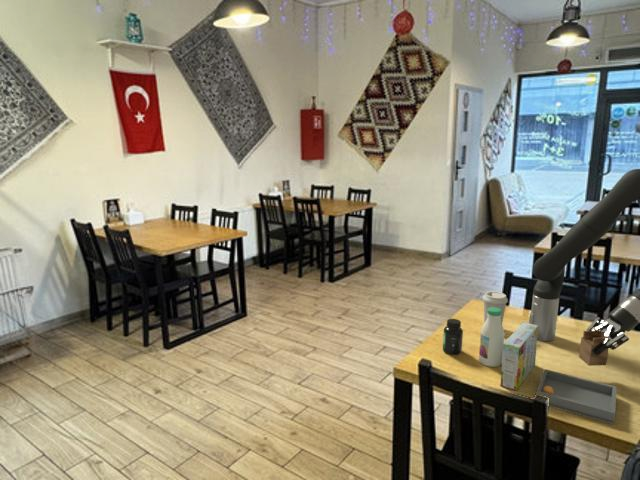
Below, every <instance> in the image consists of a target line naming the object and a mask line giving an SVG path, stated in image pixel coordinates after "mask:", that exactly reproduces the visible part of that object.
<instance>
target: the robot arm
mask: <svg viewBox="0 0 640 480" xmlns="http://www.w3.org/2000/svg"><path fill="white" fill-rule="evenodd" d="M636 201H637V204H638V207H640V168H635V169H632V170H629V171H627V172H626V173H624V174H623V175H622V176H621V178H619V180H618V181H617V182H616V183H615V184H614V186H612V188H611V190H609V192H608V193H607V194H606V195H605V196H604V197H603V198H602V199H601V200H600V201H598V202H597V203H596V204H595V205H594V206H593V207H592V208H591V209H590V210H589V211H587V212H586V213H585V214H584V215H583V216H582V217H580V219H578V221H577V222H575V224H574V225H573V226H572V227H571V228H570V229H569V230H568V231H567V232H566V233H565V234H564V236H562V238H561V239H560V240H559V242H557V243H556V244H555V246H553V247H552V248H551V249H550V250H548V251H547V252H546V253H545V254H543V255H542V256H540V257H539V258H538V259H537V260H535V262H534V264H533V267H532V273H533V275H534V277H535V278H536V279H537V280H536V283H535V285H534V287H533V289H532V290H533V291H532V302H531V310H530V311H531V312H530V314H529V321H528V323H529V324H534V325H538V335H537V341H540V342H551V341H554V340H555V337H556V330H557V329H556V328H557V322H558V321H557V320H558V313H559V303H560V296H561V295H560V294H561V292H562V289H563V285H564V279H565V273H566V272H565V271H566V266H567V265H568V264H569V262H571V261H572V260H573V259H575V258H576V257H578V256H579V255H580V254H582V253H584V252H585V251H586V250H588V249H589V248H591V247H592V246H594V245H595V244H596V243H597V242H598V241H599V240H601V238H603V237H604V236H606V234H607V233H608V232H609V231H610V230H611V229H612V227H613V225H614V224H615V222H616V221H617V219H618V217H619V216H620V215H621V213H622V212H624V211H625V209H627V208H628V207H629V206H630V205H632V204H633V203H634V202H636ZM638 324H640V287H639V288H638V289H637V290H635V291H634V292H633V293H632V294H631V295H630V296H629V297H627V298H626V299H624V300H622V302H620V303H619V304H618V305H617V306H616V307H615V308H614V309H612V311H610V312H609V313H608V318H605V319H604V320H603V319H601V317H599V316H598V317H596V318H595V319H594V320H593V321H592V323H591V324H590V325H589V326H588V327H587V328H586V331H596V332H597V333H599V331H600V332H602V333H603V334H605V335H604V338H605V339H604V340H603V341H602V344H601V343H600V344H599V345H597V346H596V347H595V348H594V349H593V350H592V352H593V353H594V354H595V355H599V354H601V353H602V352H603V351H604V350H605V349H608V350H609V349H610V350H612V351H615V350H616V349H617V348H619V347H620V346H622V345H624V344H625V343H627V342H628V341H629V340H630V338H629V337H628V335H626V334H625V333H627V332H628V333H629V332H631V331H632V330H633V329H634V328H635V327H636V326H638ZM608 340H609V342H607V341H608Z"/></svg>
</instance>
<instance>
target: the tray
mask: <svg viewBox="0 0 640 480" xmlns="http://www.w3.org/2000/svg"><path fill="white" fill-rule="evenodd" d="M546 386H550V387H552V388H553V390H554V394H553V395H552V394H549V393H545V392H543V388H544V387H546ZM617 390H618V389H617V386H614V385H611V384H607V383H602V382H598V381H595V380H591V379H587V378H583V377H578V376H574V375H569V374H566V373H563V372H558V371H553V370H550V369H546V368H544V369H543V372H542V376H541V378H540V381H539V384H538V387H537V389H536V394H535V396H536V395H537V394H538V395H542V396H546V397H548V398H549V406H548V407H551V408H554V407H556V408H555V409H557V408H559V409H558V410H561V409H562V410H561V411H564V410H566V411H565V412H568V411H570V412H569V413H571V412H573V413H572V414H575V413H577V414H576V415H578V414H579V416H582V415H583V417H585V416H586V418H589V419H593V420H596V421H599V420H600V422H604V423H605V424H606V423H607V424H610V425H614V423H615V418H616V417H615V416H616V404H617V401H616V400H617Z"/></svg>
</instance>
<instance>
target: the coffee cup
mask: <svg viewBox="0 0 640 480" xmlns="http://www.w3.org/2000/svg"><path fill="white" fill-rule="evenodd" d="M482 300H483V320H484V321H483V322H484V323H485V321H486V320H487V317H488V315H487V310H488V308H490V307H495V308H499V309H501V310H502V314H501V317H500V319H501V323H502V324H503V323H504V322H503V321H504V317H505V312H506V306H507V303H508V302H509V300H508V298H507V295H506V294H505V293H503V292H500V291H487V292H485V294H484V295H483V296H482ZM484 323H483V324H484Z"/></svg>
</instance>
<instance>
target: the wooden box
mask: <svg viewBox="0 0 640 480" xmlns="http://www.w3.org/2000/svg"><path fill="white" fill-rule="evenodd" d="M582 334H583V336H581V338H580V346H579V347H580V348H579V356H578V358H579V359H580V360H582V362H584V363H585V364H587V366H591V367H592V366H607V364H608V362H607V360H608V356H609V355H608V354H609V348H608V349H605V350H604V351H603V352H602V353H601V354H599V355H595V354H594V353H593V352H592V350H593V349H594V348H595V347H596V346H597V345H599V344H600V343H601V344H602V341H603V340H604V339H605V338H604V335H605V334H603V333H602V332H600V330H599V333H597V332H596V331H587V330H583V333H582ZM607 342H609V340H608V341H607Z"/></svg>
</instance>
